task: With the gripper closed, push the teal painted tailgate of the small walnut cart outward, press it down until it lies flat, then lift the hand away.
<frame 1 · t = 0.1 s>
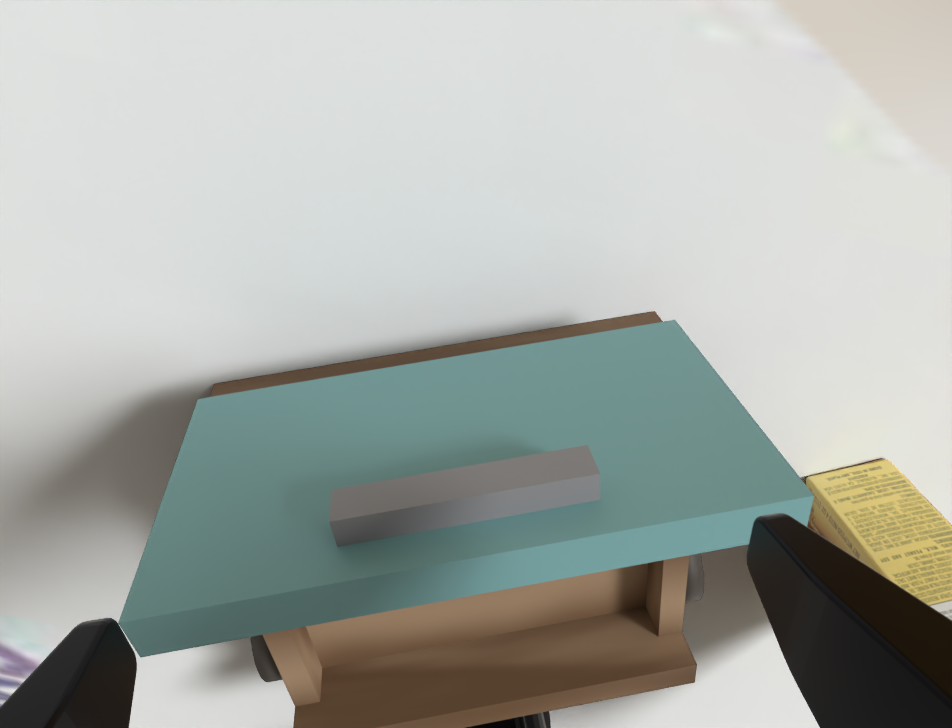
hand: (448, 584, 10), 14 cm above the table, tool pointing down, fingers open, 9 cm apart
tailgate: (456, 445, 18), point 7 cm above the table, hinge at 0.0°
candy box: (830, 527, 33), on the table
cart bed: (461, 489, 28), on the table
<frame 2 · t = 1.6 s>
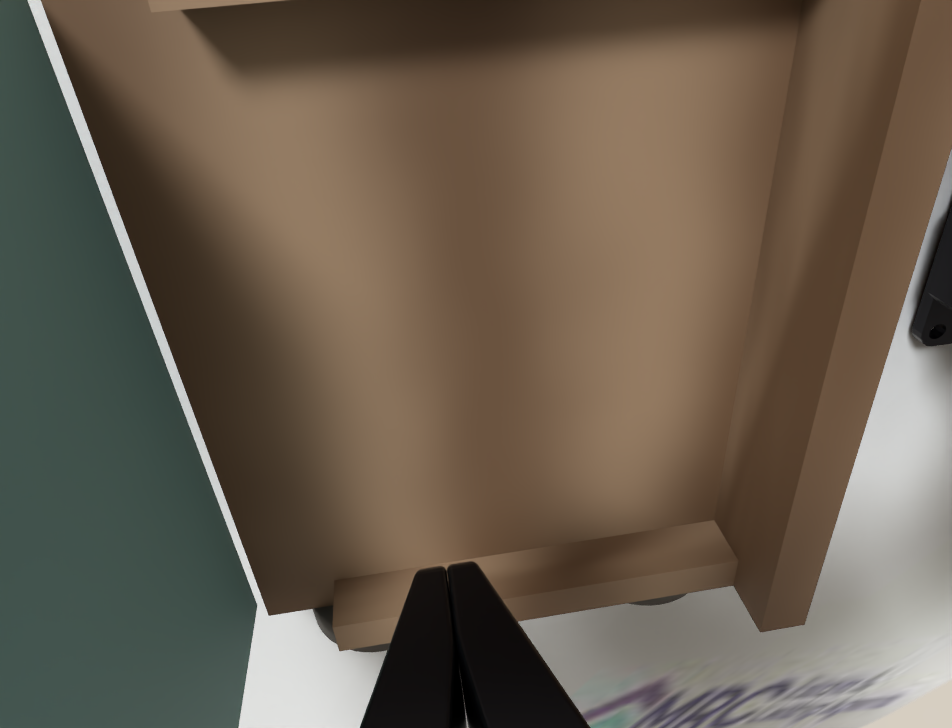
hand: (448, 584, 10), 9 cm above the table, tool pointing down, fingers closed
tailgate: (52, 523, 11), point 7 cm above the table, hinge at 0.0°
cart bed: (482, 278, 18), on the table
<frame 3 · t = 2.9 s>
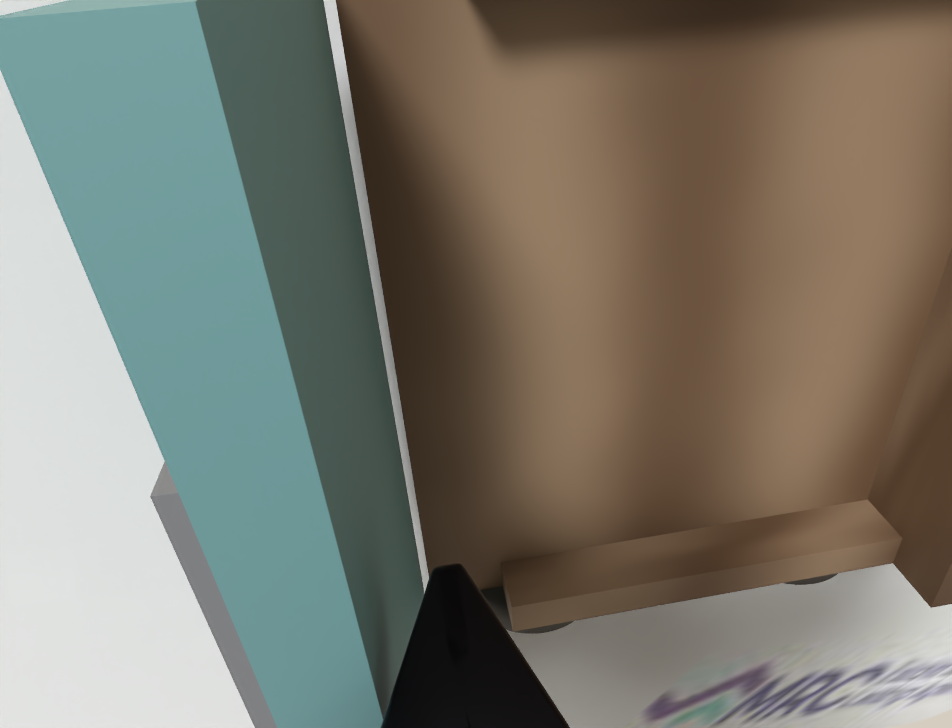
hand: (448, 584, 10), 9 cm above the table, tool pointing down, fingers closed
tailgate: (323, 494, 11), point 7 cm above the table, hinge at 2.5°, touching gripper
cart bed: (653, 261, 18), on the table
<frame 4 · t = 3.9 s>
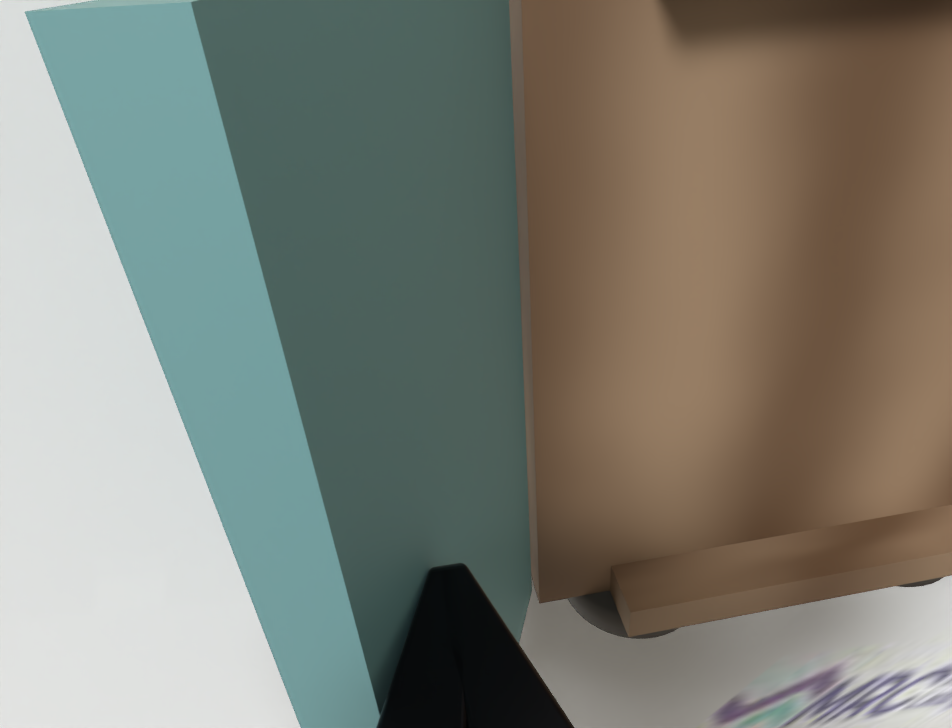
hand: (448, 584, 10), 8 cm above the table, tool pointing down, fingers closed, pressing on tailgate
tailgate: (415, 479, 11), point 6 cm above the table, hinge at 24.6°, touching gripper
cart bed: (770, 258, 17), on the table
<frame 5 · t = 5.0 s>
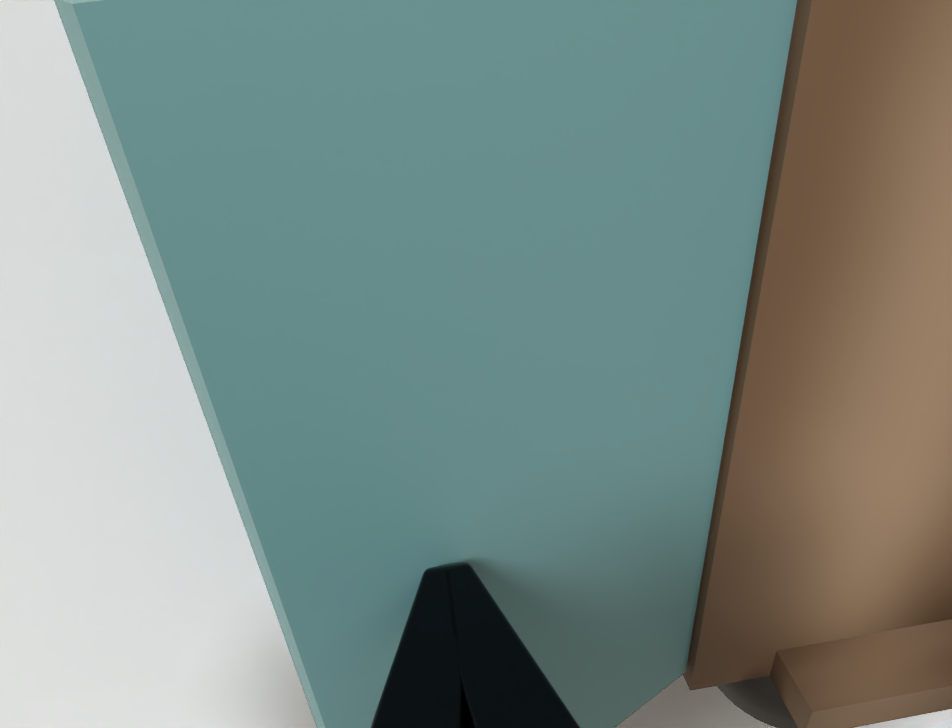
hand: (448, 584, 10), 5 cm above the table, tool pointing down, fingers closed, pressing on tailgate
tailgate: (512, 488, 11), point 4 cm above the table, hinge at 64.7°, touching gripper
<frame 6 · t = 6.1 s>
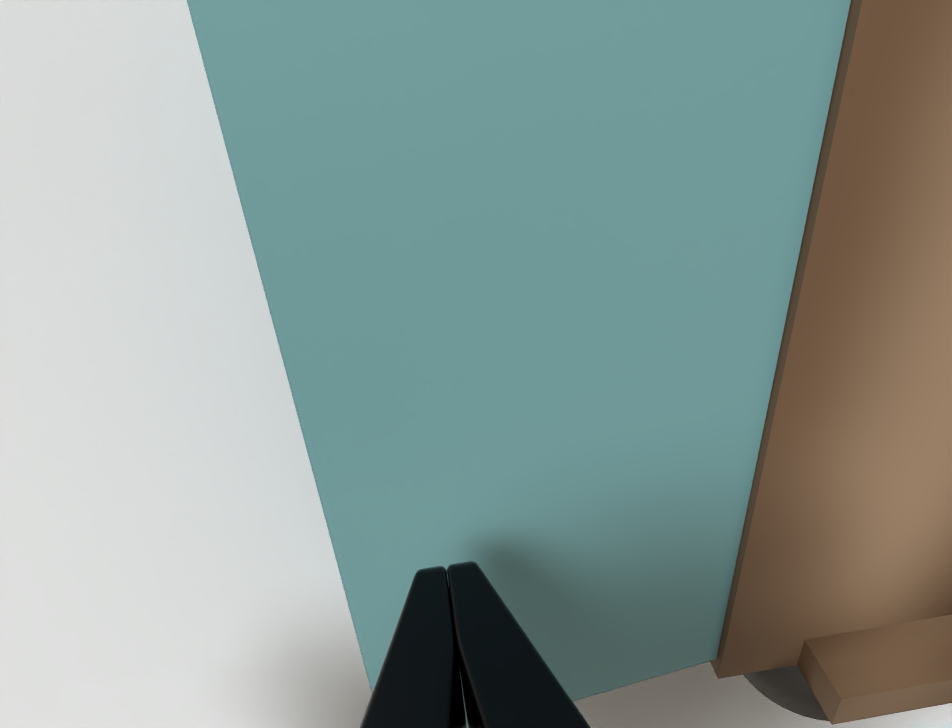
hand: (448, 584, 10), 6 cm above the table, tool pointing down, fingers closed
tailgate: (539, 423, 12), point 2 cm above the table, hinge at 83.4°
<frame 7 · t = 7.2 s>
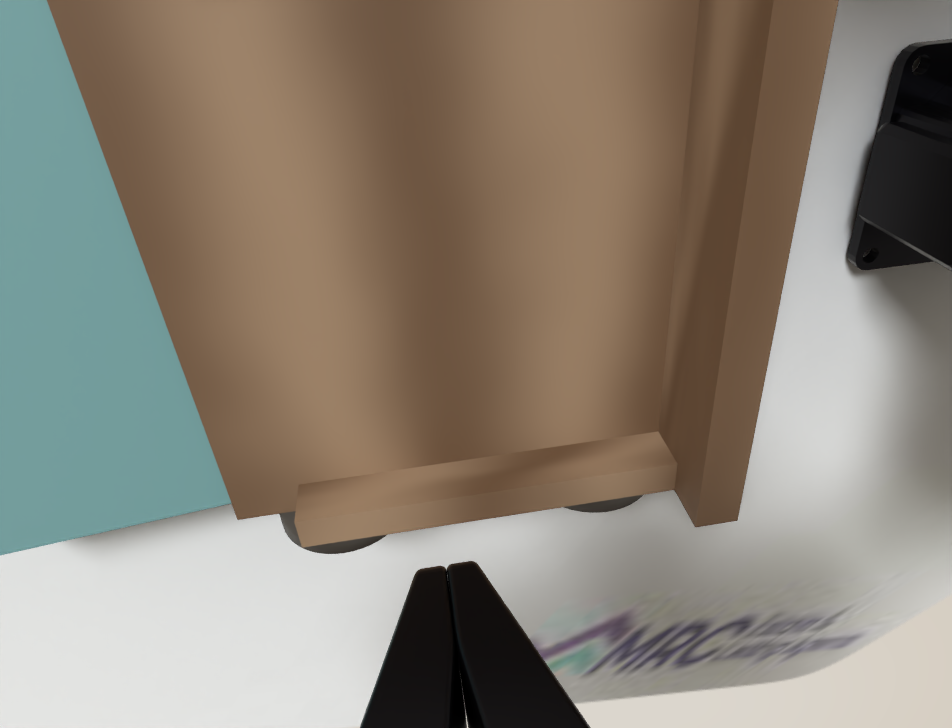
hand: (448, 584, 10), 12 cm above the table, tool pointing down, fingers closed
cart bed: (435, 197, 19), on the table
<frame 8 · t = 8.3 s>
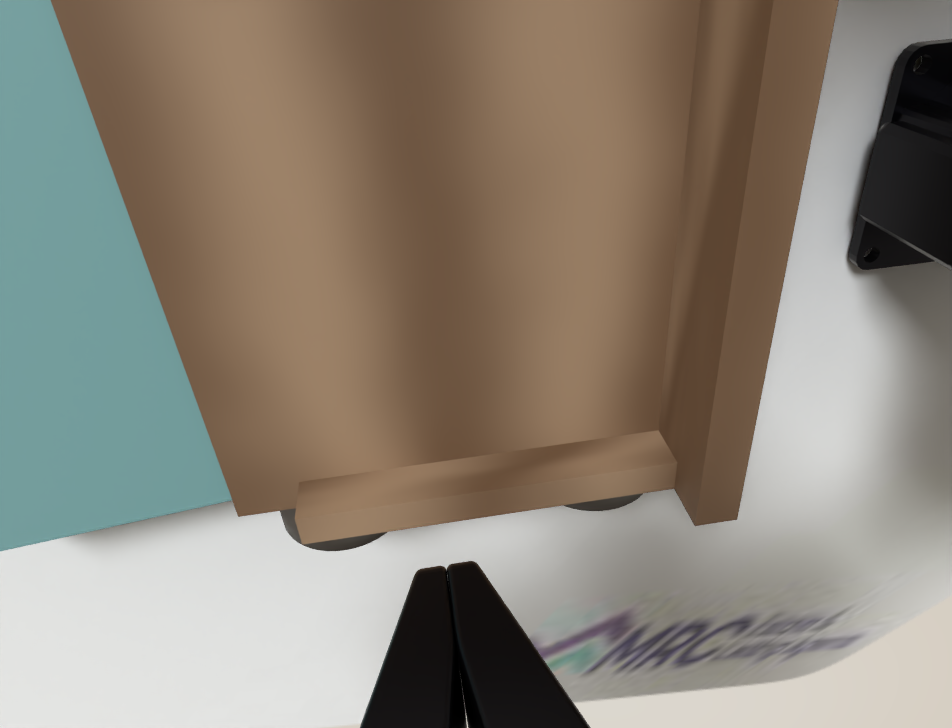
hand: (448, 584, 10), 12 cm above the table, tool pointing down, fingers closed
cart bed: (436, 195, 19), on the table
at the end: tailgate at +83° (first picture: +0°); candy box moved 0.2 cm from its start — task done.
